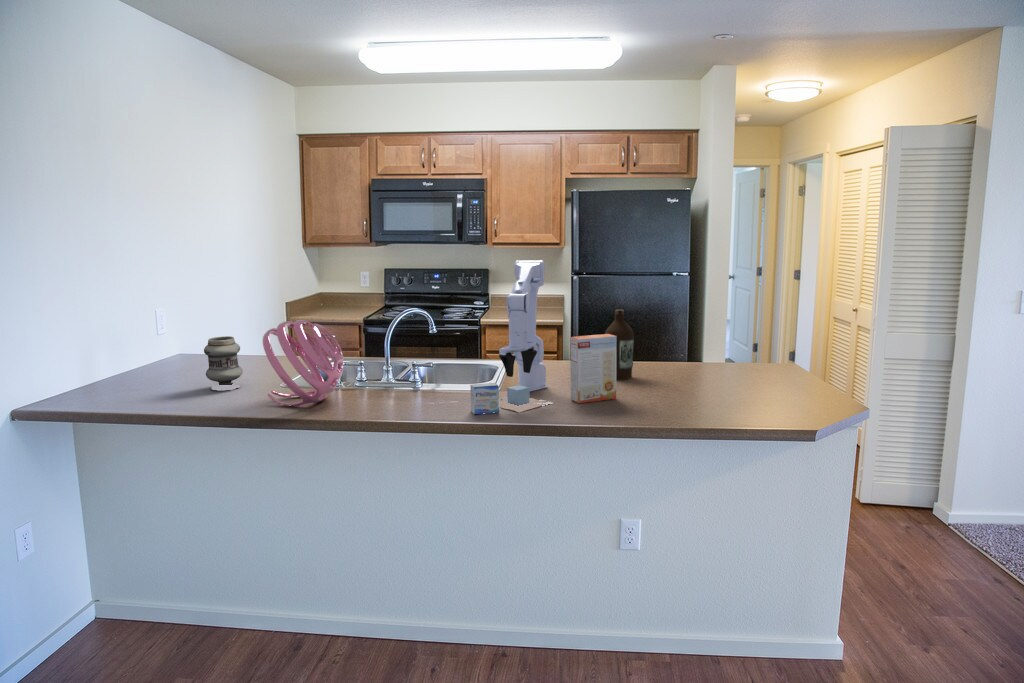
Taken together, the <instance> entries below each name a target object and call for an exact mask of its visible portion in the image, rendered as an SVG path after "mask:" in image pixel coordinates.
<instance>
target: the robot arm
mask: <svg viewBox="0 0 1024 683" xmlns="http://www.w3.org/2000/svg"><path fill="white" fill-rule="evenodd" d="M513 268H514V269H513V270H514V273H513V274H514V276H515V280H516V281H515V282H514V283H513V286H512V289H511V293H510V294H508V295H507V296H506V300H505V301H506V311H507V318H508V345H506V346H504V347H501V348H499V350H498V352H499V354H498V356H499V359H500V360H501V362H502V364H503V367H504V370H505V373H506V377H510V378H511V377H512V378H513V376H514V369H515V368H514V367H515V366H514V365H515V362H516V364H517V365H518V366H517V367H518V369H517V370H518V375H517V377H518V380H517V381H518V383H517V384H518V385H520V386H524V387H529V393H530V392H533V391H537V390H542V389H545V388H548V385H547V371H546V369H547V368H546V366H545V363H543V361H544V356H545V352H544V350H545V349H544V341H543V339H542V338H541V337H539V335H537V311H538V292H539V289H540V288H541V287H543V286H544V283H545V275H546V274H545V273H546V272H545V270H546V266H545V262H544V260H543V259H540V260H519V259H516V261H515V262H514V267H513Z"/></svg>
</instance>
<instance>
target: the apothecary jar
mask: <svg viewBox="0 0 1024 683" xmlns="http://www.w3.org/2000/svg"><path fill="white" fill-rule="evenodd" d="M240 350H241V346H240V344H239V343H237V342H236V341H235V337H234V336H225V335H224V336H215V337H211V338H208V340H207V345H205V347H204V348H203V352H204V354H205V355H206V356H207V361H208V369H207V370H206V372H205V375H206V376H205V377H206V378H207V379H208V380H209V381H212V382H216V383H217V382H218V384H219V385H232V384H233V383H234V382H232V381H235V380H237V379H239V378H240V377H241V376H242V375H243V373H244V370H243V368H242V367H241V366H240V365H239V361H238V353H240Z"/></svg>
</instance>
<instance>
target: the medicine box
mask: <svg viewBox="0 0 1024 683" xmlns="http://www.w3.org/2000/svg"><path fill="white" fill-rule="evenodd" d="M469 387H470V412H471V411H472V412H471V413H472V414H473V415H474V414H482V415H484V414H483V413H492V414H494V413H493V412H500V408H499V399H500V396H499V395H500V387H499V385H498V384H497V382H492V383H491V382H487V383H476V384H475V383H474V384H473V383H472V384H470V386H469Z"/></svg>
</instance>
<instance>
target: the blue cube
mask: <svg viewBox="0 0 1024 683" xmlns="http://www.w3.org/2000/svg"><path fill="white" fill-rule="evenodd" d="M529 397H530V392H529V387H524V386H520V385H513V386H510V387H509V386H508V387H507V388H506V398H507V403H510V404H514V405H517V406H519V405H523V404H527V403H530V400H529Z"/></svg>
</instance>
